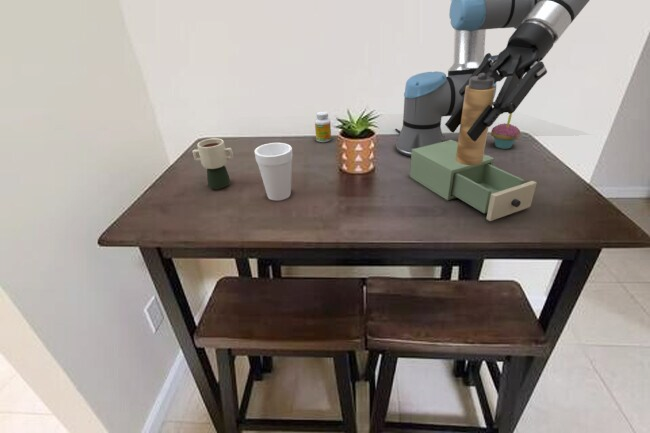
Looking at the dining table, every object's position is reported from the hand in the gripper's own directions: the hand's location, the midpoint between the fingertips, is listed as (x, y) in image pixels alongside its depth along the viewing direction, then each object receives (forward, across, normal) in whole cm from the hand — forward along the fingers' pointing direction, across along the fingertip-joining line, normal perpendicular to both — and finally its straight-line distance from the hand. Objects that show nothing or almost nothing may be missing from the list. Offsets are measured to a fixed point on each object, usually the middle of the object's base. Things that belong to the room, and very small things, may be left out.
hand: (459, 132), depth 76 cm
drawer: (+5, +1, -24) cm, 25 cm away
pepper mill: (+2, 0, -7) cm, 8 cm away
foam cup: (+36, +33, +5) cm, 49 cm away
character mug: (+45, +47, +14) cm, 67 cm away
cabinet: (+5, +16, -25) cm, 30 cm away
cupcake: (-17, +26, -48) cm, 57 cm away
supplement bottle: (+16, +64, -15) cm, 67 cm away
